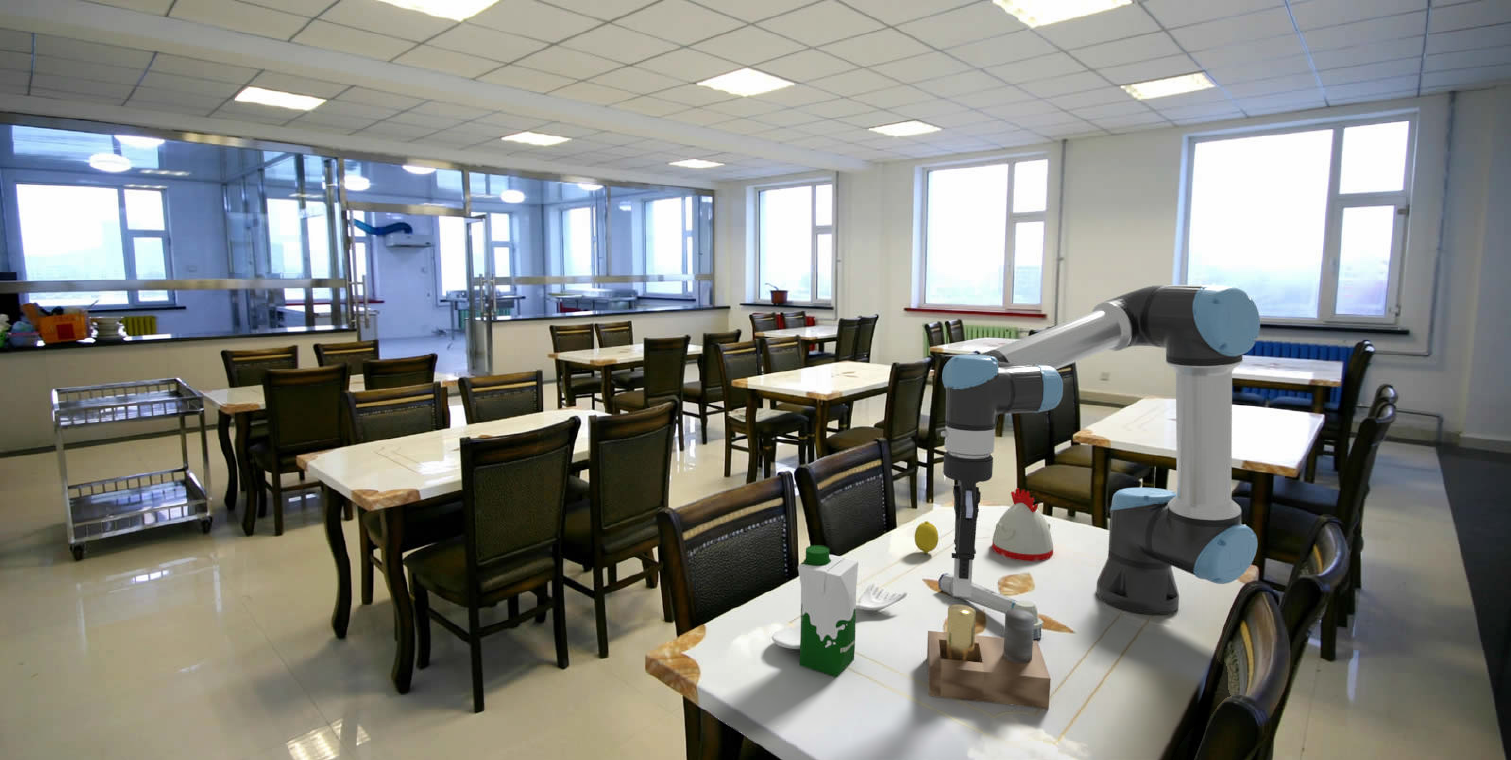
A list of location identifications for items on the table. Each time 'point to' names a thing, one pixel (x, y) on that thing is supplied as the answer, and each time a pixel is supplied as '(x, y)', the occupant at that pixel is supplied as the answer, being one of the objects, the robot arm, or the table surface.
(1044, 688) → the jig
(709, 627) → the table surface
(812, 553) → the milk carton
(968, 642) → the gold cylinder
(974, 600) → the grey bent pipe
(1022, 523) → the kitchen timer
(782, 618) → the table surface
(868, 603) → the white spork
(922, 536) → the lemon
